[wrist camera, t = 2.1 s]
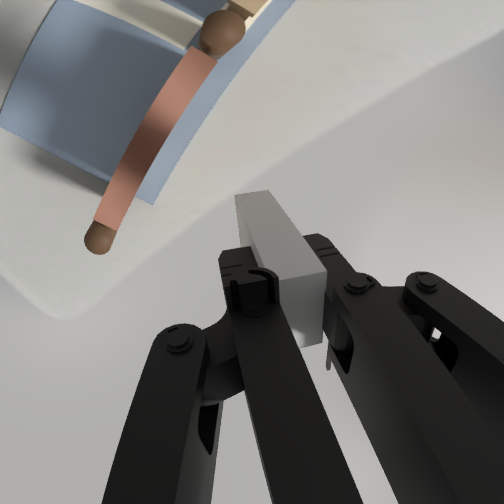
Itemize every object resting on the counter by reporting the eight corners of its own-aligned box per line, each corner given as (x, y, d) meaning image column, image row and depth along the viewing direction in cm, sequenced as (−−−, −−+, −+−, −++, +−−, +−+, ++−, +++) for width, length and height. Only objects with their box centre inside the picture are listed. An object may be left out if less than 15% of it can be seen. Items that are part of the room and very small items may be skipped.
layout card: (168, -116, 9) (168, -118, 8) (328, -35, 15) (330, -37, 15) (-2, 124, 16) (-5, 125, 16) (153, 203, 23) (152, 205, 22)
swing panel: (189, 58, 17) (190, 44, 12) (209, 69, 18) (219, 61, 12) (106, 201, 21) (80, 247, 15) (125, 210, 22) (105, 259, 16)
